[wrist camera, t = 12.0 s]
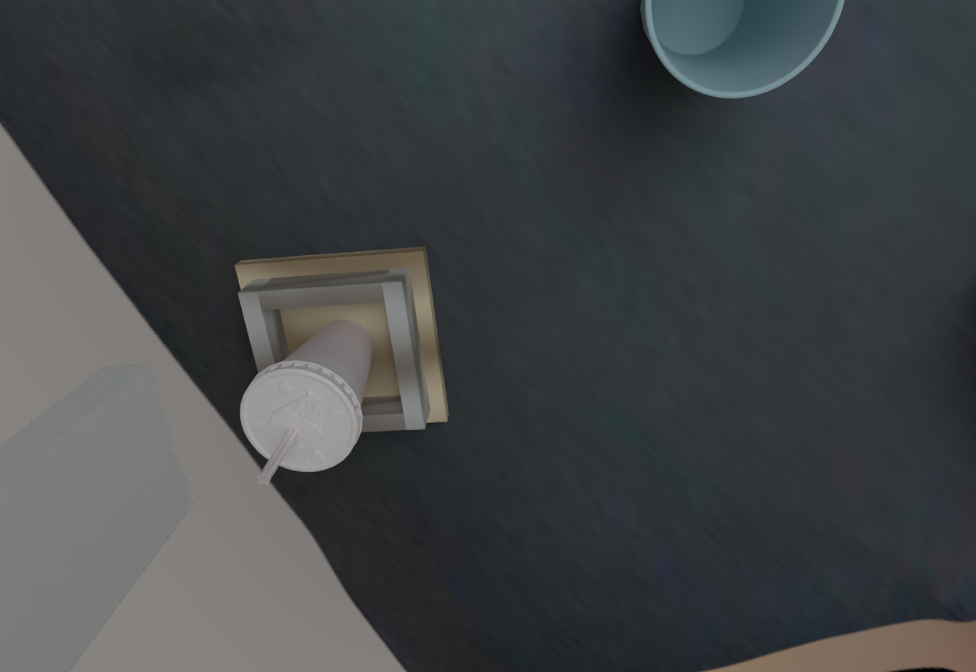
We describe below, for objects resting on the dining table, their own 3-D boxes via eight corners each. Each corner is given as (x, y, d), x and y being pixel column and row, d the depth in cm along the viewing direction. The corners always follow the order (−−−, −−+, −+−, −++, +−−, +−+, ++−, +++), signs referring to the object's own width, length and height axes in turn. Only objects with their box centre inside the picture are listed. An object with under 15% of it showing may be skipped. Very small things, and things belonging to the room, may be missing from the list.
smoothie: (282, 358, 46) (181, 485, 33) (323, 281, 43) (231, 386, 31) (367, 405, 47) (301, 546, 34) (412, 332, 44) (359, 454, 32)
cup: (642, 104, 39) (675, 127, 29) (599, -40, 36) (620, -67, 26) (780, 50, 37) (862, 55, 28) (746, -105, 34) (824, -159, 25)
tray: (241, 260, 44) (217, 278, 41) (425, 246, 43) (416, 263, 40) (281, 422, 49) (263, 449, 46) (448, 414, 48) (442, 441, 44)
